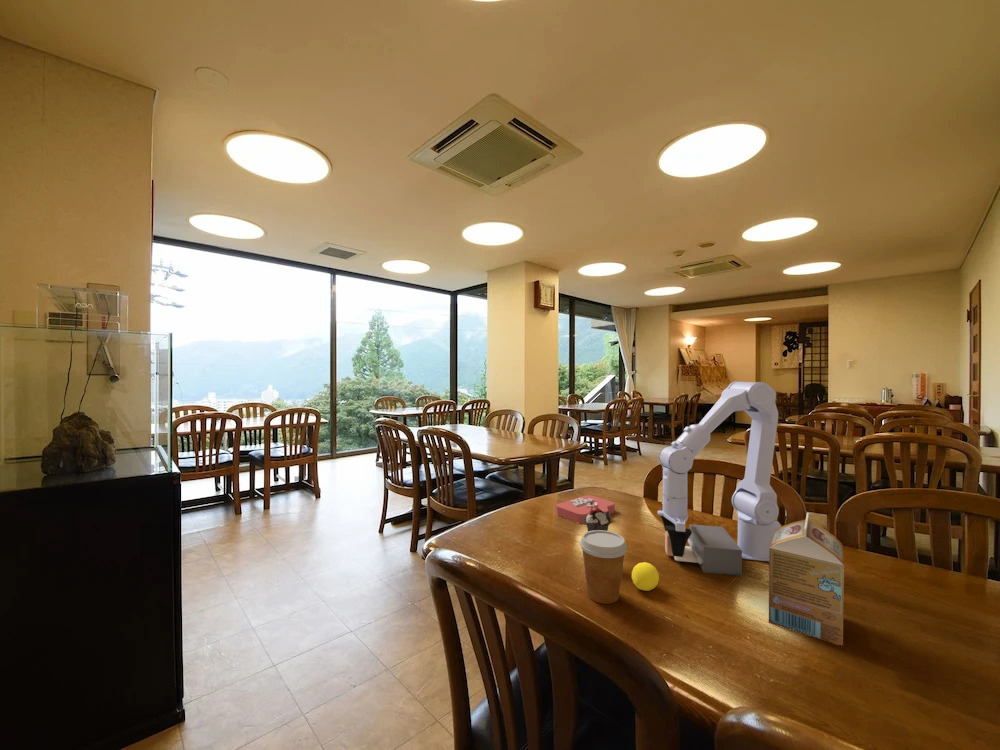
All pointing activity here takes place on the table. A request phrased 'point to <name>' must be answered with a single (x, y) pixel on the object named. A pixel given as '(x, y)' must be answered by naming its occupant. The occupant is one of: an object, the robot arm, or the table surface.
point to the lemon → (645, 576)
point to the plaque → (583, 507)
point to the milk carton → (807, 581)
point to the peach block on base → (687, 555)
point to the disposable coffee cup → (603, 564)
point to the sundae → (597, 520)
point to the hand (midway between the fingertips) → (674, 549)
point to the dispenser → (715, 550)
